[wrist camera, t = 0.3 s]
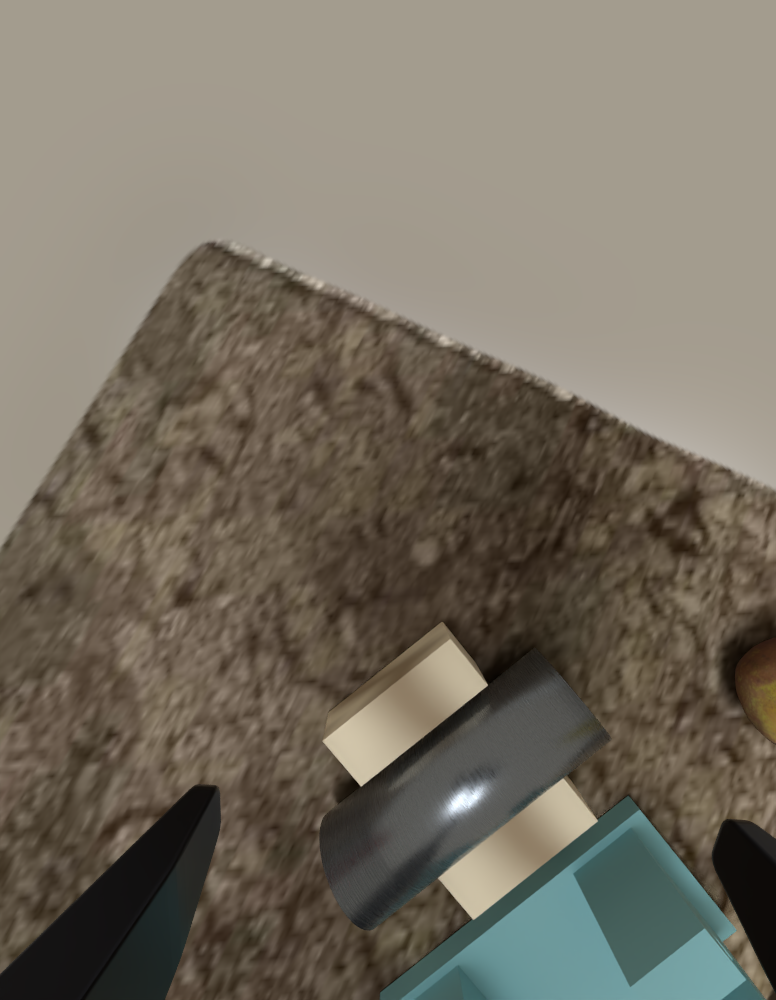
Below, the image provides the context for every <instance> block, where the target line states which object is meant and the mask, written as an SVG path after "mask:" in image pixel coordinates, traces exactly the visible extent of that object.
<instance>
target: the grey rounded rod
mask: <svg viewBox="0 0 776 1000" xmlns="http://www.w3.org/2000/svg"><path fill="white" fill-rule="evenodd" d="M611 740H612V739H611V737H610V736H609V734H608V733H607V731H606V730H605V729H604V728H603V726H602V725H601V724H600V722H599V721H598V720H597V719H596V717H595V716H594V715H593V714H592V712H591V711H590V710H589V709H588V708H587V706H586V705H585V704H584V703H583V701H582V700H581V699H580V698H579V697H578V695H577V694H576V693H575V692H574V691H573V690H572V688H571V687H570V686H569V685H568V684H567V682H566V681H565V680H564V679H563V678H562V677H561V676H560V674H559V673H558V672H557V671H556V670H555V669H554V668H553V666H552V665H551V664H550V663H549V662H548V661H547V660H546V659H545V658H544V656H543V655H542V654H541V653H540V652H539V651H538V650H537V649H536V648H533V649H532V650H531V651H530V652H528V653H527V654H526V655H525V656H523V657H522V658H521V659H520V660H518V661H517V662H516V663H515V664H513V665H512V666H511V667H510V668H508V669H507V670H506V671H505V672H503V673H502V674H501V675H500V676H498V677H497V678H496V679H495V680H493V681H492V682H491V683H490V684H488V686H487V687H485V688H484V689H483V690H482V691H480V692H479V693H478V694H477V695H475V696H474V697H473V698H472V699H470V700H469V701H468V702H467V703H465V704H464V705H463V706H462V707H460V708H459V709H458V710H457V711H455V712H454V713H453V714H452V715H450V716H449V717H448V718H447V719H445V720H444V721H443V722H442V723H440V724H439V725H438V726H437V727H435V728H434V729H433V730H432V731H430V732H429V733H428V734H427V735H425V736H424V737H423V738H422V739H420V740H419V741H418V742H416V743H415V744H414V745H413V746H411V747H410V748H409V749H408V750H406V751H405V752H404V753H403V754H401V755H400V756H399V757H398V758H396V759H395V760H394V761H393V762H391V763H390V764H389V765H388V766H386V767H385V768H384V769H383V770H381V771H380V772H379V773H378V774H376V775H375V776H374V777H373V778H371V779H370V780H369V781H368V782H366V783H365V784H364V785H363V786H361V787H359V788H358V789H357V790H356V791H354V792H353V793H352V794H351V795H349V796H348V797H347V798H346V799H344V800H343V801H342V802H340V803H339V804H338V805H337V806H335V807H334V808H333V809H332V810H330V811H329V812H328V813H327V814H326V815H325V816H324V818H323V820H322V823H321V827H320V851H321V858H322V863H323V867H324V871H325V874H326V877H327V880H328V883H329V885H330V888H331V890H332V892H333V894H334V896H335V898H336V900H337V902H338V904H339V906H340V907H341V909H342V910H343V912H344V913H345V914H346V916H347V917H348V918H349V919H350V920H351V921H352V922H353V923H354V924H355V925H356V926H358V927H359V928H361V929H364V930H373V929H374V928H376V927H377V926H378V925H380V924H381V923H382V922H383V921H385V920H386V919H387V918H388V917H390V916H391V915H392V914H393V913H395V912H396V911H397V910H398V909H400V908H401V907H402V906H403V905H405V904H406V903H407V902H408V901H410V900H411V899H412V898H413V897H415V896H416V895H417V894H418V893H420V892H421V891H422V890H423V889H425V888H426V887H427V886H428V885H430V884H431V883H432V882H434V881H435V880H436V879H437V878H439V877H440V876H441V875H442V874H444V873H445V872H446V871H447V870H449V869H450V868H451V867H452V866H454V865H455V864H456V863H457V862H459V861H460V860H461V859H462V858H464V857H465V856H466V855H467V854H469V853H470V852H471V851H472V850H474V849H475V848H476V847H477V846H479V845H480V844H481V843H482V842H484V841H485V840H486V839H488V838H489V837H490V836H491V835H493V834H494V833H495V832H496V831H498V830H499V829H500V828H501V827H503V826H504V825H505V824H506V823H508V822H509V821H510V820H511V819H513V818H514V817H515V816H516V815H518V814H519V813H520V812H521V811H523V810H524V809H525V808H526V807H528V806H529V805H530V804H531V803H533V802H534V801H535V800H537V799H538V798H539V797H540V796H542V795H543V794H544V793H545V792H547V791H548V790H549V789H550V788H552V787H553V786H554V785H555V784H557V783H558V782H559V781H560V780H562V779H563V778H564V777H565V776H567V775H568V774H569V773H570V772H572V771H573V770H574V769H575V768H577V767H578V766H579V765H580V764H582V763H583V762H584V761H585V760H587V759H588V758H589V757H591V756H592V755H593V754H594V753H596V752H597V751H598V750H599V749H601V748H602V747H603V746H604V745H606V744H607V743H608V742H609V741H611Z"/></svg>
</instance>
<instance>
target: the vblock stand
mask: <svg viewBox="0 0 776 1000" xmlns="http://www.w3.org/2000/svg"><path fill="white" fill-rule="evenodd" d="M735 931H737V930H736V929H735V928H734V926H733V925H732V924H731V923H730V921H729V920H728V919H727V918H726V916H725V915H724V914H723V913H722V911H721V910H720V909H719V908H718V906H717V905H716V904H715V903H714V901H713V900H712V899H711V898H710V896H709V895H708V894H707V893H706V891H705V890H704V889H703V888H702V886H701V885H700V884H699V883H698V882H697V880H696V879H695V878H694V877H693V875H692V874H691V873H690V872H689V870H688V869H687V868H686V867H685V865H684V864H683V863H682V862H681V860H680V859H679V858H678V857H677V855H676V854H675V853H674V852H673V850H672V849H671V848H670V847H669V845H668V844H667V843H666V842H665V840H664V839H663V838H662V837H661V835H660V834H659V833H658V832H657V830H656V829H655V828H654V827H653V825H652V824H651V823H650V822H649V820H648V819H647V818H646V817H645V815H644V814H643V813H642V812H641V810H640V809H639V808H638V807H637V805H636V804H635V803H634V802H633V800H632V799H631V798H630V797H629V795H628V796H627V797H626V798H624V799H623V800H622V801H621V802H619V803H618V804H617V805H616V806H614V807H613V808H612V809H611V810H609V811H608V812H607V813H606V814H604V815H603V816H602V817H600V818H599V819H598V822H596V823H595V824H594V825H593V826H591V827H590V828H589V829H588V830H586V831H585V832H584V833H583V834H581V835H580V836H579V837H577V838H576V839H575V840H574V841H572V842H571V843H570V844H569V845H567V846H566V847H565V848H564V849H562V850H561V851H560V852H559V853H557V854H556V855H555V856H554V857H552V858H551V859H550V860H549V861H547V862H546V863H545V864H544V865H542V866H541V867H540V868H538V869H537V870H536V871H535V872H533V873H532V874H531V875H530V876H528V877H527V878H526V879H525V880H523V881H522V882H521V883H520V884H518V885H517V886H516V887H515V888H513V889H512V890H511V891H510V892H508V893H507V894H506V895H504V896H503V897H502V898H501V899H499V900H498V901H497V902H496V903H494V904H493V905H492V906H491V907H489V908H488V909H487V910H486V911H484V912H483V913H482V914H481V915H479V916H478V917H477V918H476V919H474V920H473V919H472V920H471V921H470V922H468V923H467V924H466V925H465V926H463V927H462V928H461V929H460V930H458V931H457V932H456V933H454V934H453V935H452V936H451V937H449V938H448V939H447V940H446V941H444V942H443V943H442V944H441V945H439V946H438V947H437V948H436V949H434V950H433V951H432V952H431V953H429V954H428V955H427V956H426V957H424V958H423V959H422V960H420V961H419V962H418V963H417V964H415V965H414V966H413V967H412V968H410V969H409V970H408V971H407V972H405V973H404V974H403V975H402V976H400V977H399V978H398V979H397V980H395V981H394V982H393V983H392V984H390V985H389V986H388V987H387V988H385V989H384V990H383V991H381V992H380V1000H766V999H765V998H764V997H763V995H762V994H761V993H760V991H759V990H758V989H757V987H756V986H755V985H754V983H753V982H752V981H751V979H750V978H749V977H748V975H747V974H746V973H745V971H744V970H743V969H742V967H741V966H740V965H739V963H738V962H737V961H736V959H735V958H734V957H733V955H732V954H731V953H730V951H729V950H728V949H727V947H726V946H725V945H724V943H723V941H724V940H725V939H727V938H728V937H729V936H730V935H732V934H733V933H734V932H735Z"/></svg>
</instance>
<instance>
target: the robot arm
mask: <svg viewBox="0 0 776 1000" xmlns="http://www.w3.org/2000/svg"><path fill="white" fill-rule="evenodd" d="M220 824H221V812H220V790H219V787H218V786H216V785H204V784H198V785H195V786H193V787H192V788H191V789H190V790H189V791H188V792H186V793H185V794H184V795H183V796H182V797H181V798H180V799H179V800H178V801H177V802H176V803H175V804H174V805H173V806H172V807H171V808H170V809H169V810H168V811H167V812H166V813H165V814H164V815H163V816H162V817H161V818H160V819H159V820H158V821H157V822H156V823H155V824H154V825H153V826H152V827H151V828H150V829H149V830H147V831H146V832H145V833H144V834H143V835H142V836H141V837H140V838H139V839H138V840H137V841H136V842H135V843H134V844H133V845H132V846H131V847H130V848H129V849H128V850H127V851H126V852H125V853H124V854H123V855H122V856H121V857H120V858H119V859H118V860H117V861H116V862H115V863H114V864H113V865H112V866H111V867H110V868H108V869H107V870H106V871H105V872H104V873H103V874H102V875H101V876H100V877H99V878H98V879H97V880H96V881H95V882H94V883H93V884H92V885H91V886H90V887H89V888H88V889H87V890H86V891H85V892H84V893H83V894H82V895H81V896H80V897H79V898H78V899H77V900H76V901H75V902H74V903H73V904H72V905H71V906H69V907H68V908H67V909H66V910H65V911H64V912H63V913H62V914H61V915H60V916H59V917H58V918H57V919H56V920H55V921H54V922H53V923H52V924H51V925H50V926H49V927H48V928H47V929H46V930H45V931H44V932H43V933H42V934H41V935H40V936H39V937H38V938H37V939H36V940H35V941H34V942H33V943H32V944H30V945H29V946H28V947H27V948H26V949H25V950H24V951H23V952H22V953H21V954H20V955H19V956H18V957H17V958H16V959H15V960H14V961H13V962H12V963H11V964H10V965H9V966H8V967H7V968H6V969H5V970H4V971H3V972H2V973H1V974H0V1000H165V998H166V995H167V993H168V990H169V988H170V985H171V982H172V980H173V977H174V975H175V972H176V969H177V967H178V964H179V961H180V958H181V956H182V953H183V950H184V946H185V943H186V940H187V937H188V934H189V931H190V927H191V924H192V921H193V917H194V914H195V911H196V908H197V904H198V901H199V898H200V895H201V891H202V888H203V885H204V881H205V878H206V875H207V872H208V868H209V865H210V862H211V859H212V855H213V852H214V849H215V845H216V842H217V839H218V835H219V831H220ZM712 861H713V865H714V868H715V870H716V873H717V875H718V877H719V879H720V881H721V883H722V885H723V887H724V889H725V891H726V893H727V895H728V897H729V900H730V902H731V904H732V906H733V908H734V910H735V912H736V914H737V916H738V918H739V920H740V922H741V924H742V926H743V928H744V930H745V933H746V935H747V937H748V939H749V941H750V943H751V945H752V947H753V949H754V951H755V953H756V955H757V957H758V959H759V961H760V963H761V966H762V968H763V970H764V972H765V974H766V976H767V978H768V980H769V981H770V983H771V985H772V987H773V989H774V991H775V993H776V839H775V838H774V837H772V836H771V835H770V834H768V833H767V832H766V831H764V830H763V829H762V828H760V827H759V826H757V825H756V824H754V823H752V822H750V821H746V820H735V819H727V820H725V821H723V823H722V825H721V827H720V830H719V833H718V836H717V839H716V842H715V844H714V847H713V850H712Z"/></svg>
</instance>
